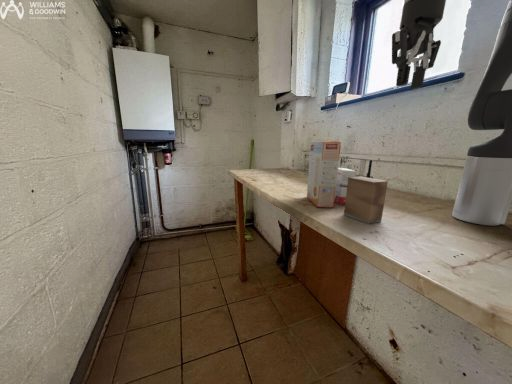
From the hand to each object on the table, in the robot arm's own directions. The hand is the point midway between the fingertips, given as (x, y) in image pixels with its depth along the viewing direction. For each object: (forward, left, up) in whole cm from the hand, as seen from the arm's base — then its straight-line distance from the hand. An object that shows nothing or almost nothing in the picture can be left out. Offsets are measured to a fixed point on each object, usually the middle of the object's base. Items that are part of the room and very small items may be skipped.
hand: (409, 86), depth 48 cm
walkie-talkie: (-1, -17, -34) cm, 38 cm away
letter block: (+6, -1, -33) cm, 34 cm away
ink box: (+7, -18, -34) cm, 39 cm away
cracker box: (+15, -16, -34) cm, 40 cm away
